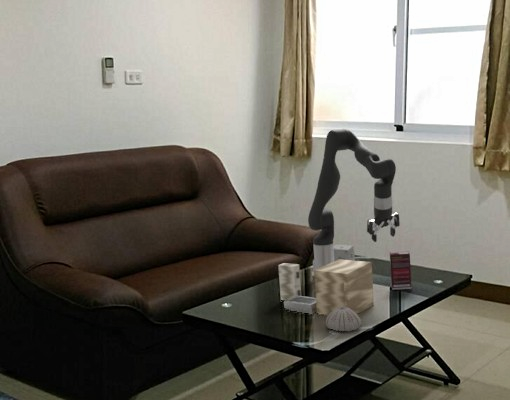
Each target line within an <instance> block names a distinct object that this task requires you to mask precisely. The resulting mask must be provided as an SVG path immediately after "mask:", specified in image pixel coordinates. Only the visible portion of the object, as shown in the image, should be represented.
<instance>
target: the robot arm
mask: <svg viewBox="0 0 510 400" xmlns="http://www.w3.org/2000/svg"><path fill="white" fill-rule="evenodd" d="M324 145H325V146H324V151H323V152H324V154H323V159H322V165H321V169H320V174H319V177H318V182H317V185H316V190H315V191H316V192H315V195H314V199H313V202H312V204H311V207H310V210H309V214H308V219H307V223H308V227H309V228H310V230H312V231H320V232H319V233H318V234H317V235H316V236H314V237H313V239H312V240H313V243H312V245H313V256H314V257H313V258H314V259H313V260H312V269H313V271H312V273H313V274H312V275H314V270H316V269H319V268H321V267H323V266H326V265H328V264H330V263H332V262H334V246H335V245H334V239H335V218H334V213H333V211H332V210H331V209H329V208H325V207H326V205H327V204H328V203H329V202H330V200H331V199H332V198H333V197H334V196H335V194H336V192H337V191H338V188H339V184H340V180H341V172H340V170H339V168H338V166H337V163H336V157H337V153H338V152H340V151H346V150H350V151H351V152H354V158H355V160H356V161H357V162H358V163H359V164H360V165H362V166H363V167H364V168H365V169H366V170H367V172H368V173H369V174H370V176H371V177H372V178H373V179H375V180H376V181H375V182H374V186H373V188H374V189H373V193H374V195H373V196H374V197H373V215H374V217H373V219H367V222H366V223H367V224H366V232H367V233H368V234H369V235H371V240H372V241H373V242H374V243H377V240H378V238H377V237H378V236H377V233H378V231H380V230H381V229H383V228H384V227H388V226H390V228H389V230H390V231H389V232H390V233H389V234H390V236H391V237H395V235H396V229H397V227H398V228H399V227H400V223H401V222H400V214H399V213H397V212H396V211H394V212H393V194H392V192H393V191H392V189H393V188H392V186H393V182H394V179H395V176H396V171H397V170H396V169H397V168H396V163H395V161H394V160H393V159H392V158H384V159H380V157H379V155H378V154H377V153H376V152H374V151H373V150H371V149H369V147H367V146H366V145H365V144H364V143H363V142H362V141H361V140H360V139H359V138H358V137H357V136H356V135H355V134H354V132H353V131H351V130H350V129H347V128H338V129H331V130H330V131H328V132H327V135H326V138H325V143H324ZM392 220H393V223H392Z"/></svg>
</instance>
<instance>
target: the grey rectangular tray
mask: <svg viewBox="0 0 510 400" xmlns="http://www.w3.org/2000/svg"><path fill="white" fill-rule="evenodd" d="M283 307H284V308H286V309H289V310H291V311H297V312H302V313H301V314H304V313H309V314H308V315H311V314H312V315H314V314H316V313H317V308H316V298H313V297H311V296H302V295H301V296H297V295H296V296H294V297H292V298H290V299H288V300H286V301H284V302H283ZM297 312H296V313H297ZM315 312H316V313H315ZM313 313H314V314H313Z"/></svg>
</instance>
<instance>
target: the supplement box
mask: <svg viewBox="0 0 510 400" xmlns="http://www.w3.org/2000/svg"><path fill="white" fill-rule="evenodd" d="M410 254H411V253H410V251H395V252H389V264H390V265H389V266H390V281H391V283H390V284H391V285H390V286H391V289H392V290H394V291H395V290H412V287H413V286H412V285H413V284H412V273H411V272H412V270H411V269H412V268H411V255H410Z"/></svg>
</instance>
